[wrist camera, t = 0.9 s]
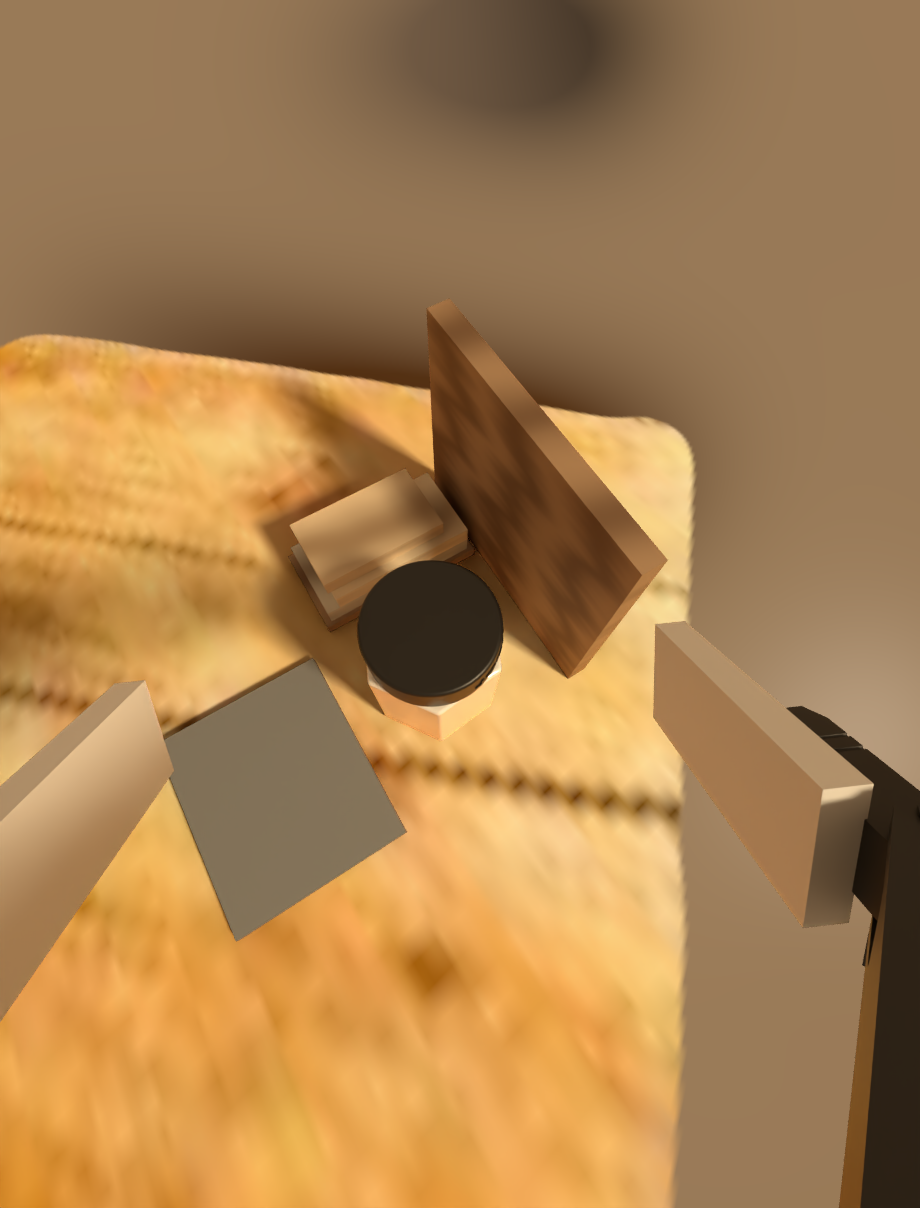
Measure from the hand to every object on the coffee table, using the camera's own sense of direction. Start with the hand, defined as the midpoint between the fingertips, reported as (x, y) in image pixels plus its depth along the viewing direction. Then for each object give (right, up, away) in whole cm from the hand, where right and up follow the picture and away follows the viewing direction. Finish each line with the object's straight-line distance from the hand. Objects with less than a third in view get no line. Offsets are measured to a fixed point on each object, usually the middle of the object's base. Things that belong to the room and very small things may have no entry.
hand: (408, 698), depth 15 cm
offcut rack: (-1, +2, +30) cm, 30 cm away
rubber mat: (-11, -10, +24) cm, 29 cm away
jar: (0, -3, +28) cm, 28 cm away
